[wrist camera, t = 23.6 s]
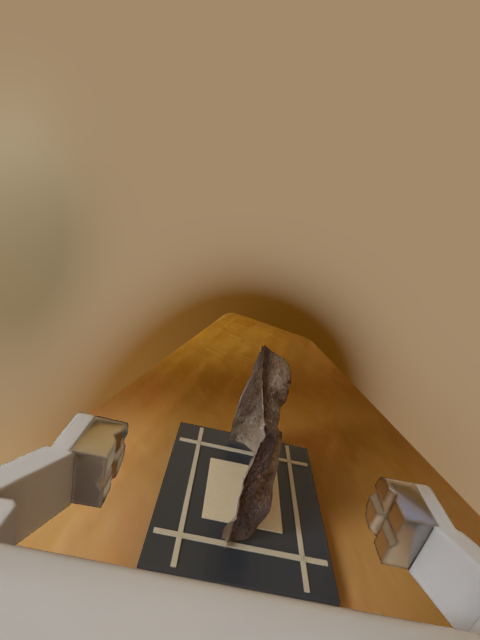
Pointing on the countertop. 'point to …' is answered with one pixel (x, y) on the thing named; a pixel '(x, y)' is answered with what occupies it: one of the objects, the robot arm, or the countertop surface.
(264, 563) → the board
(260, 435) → the mineral sample
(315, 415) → the countertop surface
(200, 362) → the countertop surface
